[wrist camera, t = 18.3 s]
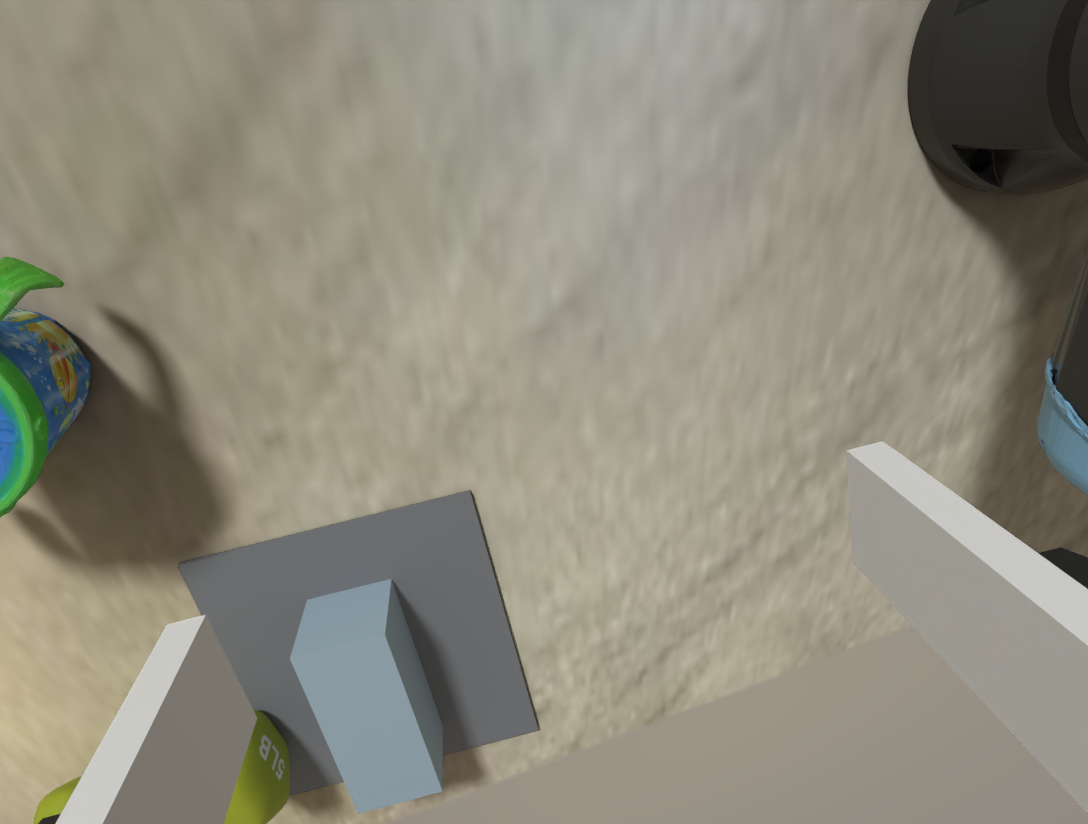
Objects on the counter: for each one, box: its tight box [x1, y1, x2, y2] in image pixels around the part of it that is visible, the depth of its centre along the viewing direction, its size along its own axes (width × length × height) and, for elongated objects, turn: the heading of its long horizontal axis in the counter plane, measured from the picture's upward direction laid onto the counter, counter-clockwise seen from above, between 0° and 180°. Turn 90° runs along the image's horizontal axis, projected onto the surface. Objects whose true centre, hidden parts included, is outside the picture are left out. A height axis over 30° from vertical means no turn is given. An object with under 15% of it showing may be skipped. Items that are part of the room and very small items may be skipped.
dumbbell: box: [34, 710, 290, 824], centre depth 50 cm, size 16×8×7 cm, turn 111°
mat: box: [178, 490, 538, 795], centre depth 53 cm, size 20×22×1 cm
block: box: [290, 579, 443, 814], centre depth 50 cm, size 6×6×14 cm
